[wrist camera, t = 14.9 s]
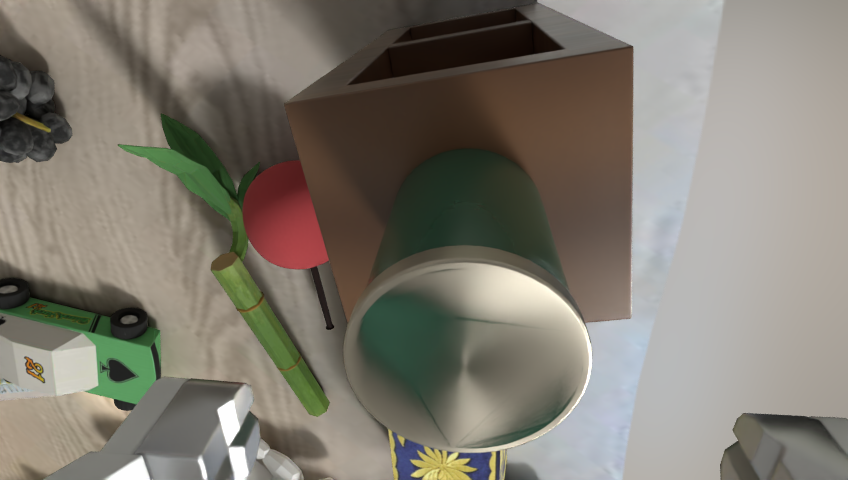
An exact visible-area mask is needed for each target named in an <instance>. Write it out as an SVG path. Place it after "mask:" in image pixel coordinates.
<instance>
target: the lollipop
mask: <svg viewBox="0 0 848 480" xmlns="http://www.w3.org/2000/svg"><path fill="white" fill-rule="evenodd" d="M243 223H244V227H245V231H246V234H247V236H248V238H249V240H250V242H251V244H252V245H253V247H254V248H255V249H256V251H257V252H258V253H259V254H260V255H261V256H262V257H263V258H265V259H266V260H268V261H269V262H271V263H273V264H275V265H277V266H280V267H284V268H289V269H307V268H310V269H311V273H312V276H313V280H314V283H315V287H316V290H317V294H318V297H319V301H320V304H321V308H322V311H323V314H324V318H325V321H326V325H327V326H326V329H327V330H331V329H333V328H334V325H333V324H332V321H331V317H330V313H329V309H328V306H327V302H326V298H325V294H324V291H323V287H322V283H321V279H320V276H319V272H318V268H317V266H318V265H321V264H323V263H325V262H327V261H329V258H328V255H327V251H326V248H325V245H324V241H323V238H322V234H321V231H320V227H319V224H318V221H317V217H316V214H315V210H314V207H313V203H312V200H311V196H310V193H309V190H308V186H307V183H306V179H305V176H304V172H303V169H302V166H301V162H300V160H295V161H286V162H282V163H279V164H276V165H274V166H271V167H269V168H268V169H266V170H264V171H263V172H262V173H260V174H259V175H258V176H257V177H256V178H255V179H254V180H253V181H252V183H251V184H250V186H249V187H248V189H247V192H246V194H245V197H244V202H243Z"/></svg>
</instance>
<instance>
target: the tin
mask: <svg viewBox="0 0 848 480" xmlns="http://www.w3.org/2000/svg"><path fill="white" fill-rule="evenodd" d="M343 359H344V366H345V370H346V375H347V378H348V380H349V383H350V385H351V388H352V390H353V391H354V393H355V395H356V397H357V398H358V400H359V401H360V402H361V404H362V405H363V406H364V408H365V409H366V410H367V411H368V412H369V413H370V414H371V415H372V416H373V417H374V418H375V419H376V420H377V421H379V422H380V423H381V424H382V425H384V426H385V427H386V428H388V429H390V430H391V431H393V432H394V433H396V434H398V435H400V436H402V437H404V438H406V439H408V440H410V441H412V442H415V443H418V444H420V445H423V446H426V447H430V448H434V449H438V450H443V451H449V452H459V453H485V452H495V451H500V450H505V449H509V448H513V447H516V446H519V445H523V444H525V443H527V442H530V441H532V440H534V439H537V438H538V437H540V436H542V435H544V434H546V433H547V432H549V431H550V430H552V429H553V428H554V427H556V426H557V425H559V424H560V423H561V422H562V421H563V420H564V419H565V418H566V417H567V416H568V415H569V414H570V413H571V412H572V410H573V409H574V408H575V407H576V406H577V404H578V402H579V401H580V399H581V397H582V396H583V394H584V392H585V389H586V387H587V384H588V382H589V378H590V373H591V369H592V348H591V341H590V338H589V334H588V331H587V328H586V325H585V322H584V318H583V315H582V313H581V311H580V309H579V307H578V305H577V303H576V301H575V300H574V298H573V297H572V296H571V294H570V291H569V288H568V284H567V281H566V278H565V275H564V271H563V268H562V265H561V261H560V258H559V255H558V252H557V248H556V245H555V242H554V239H553V235H552V232H551V229H550V226H549V222H548V219H547V216H546V213H545V209H544V206H543V203H542V200H541V196H540V193H539V191H538V189H537V187H536V185H535V184H534V182H533V181H532V179H531V178H530V176H529V175H528V174H527V173H526V172H525V171H524V170H523V169H522V168H521V167H520V166H518V165H517V164H516V163H514V162H513V161H511V160H510V159H508V158H506V157H504V156H502V155H500V154H497V153H494V152H491V151H487V150H482V149H472V148H464V149H455V150H450V151H446V152H443V153H440V154H437V155H435V156H433V157H431V158H429V159H427V160H425V161H424V162H423V163H421V164H420V165H418V166H417V167H416V168H415V169H414V170H413V171H412V172H411V173H410V174H409V175H408V176H407V178H406V179H405V180H404V182H403V183H402V185H401V187H400V189H399V191H398V193H397V195H396V198H395V201H394V204H393V207H392V210H391V213H390V216H389V219H388V222H387V225H386V228H385V231H384V234H383V237H382V240H381V243H380V246H379V249H378V252H377V255H376V258H375V261H374V264H373V267H372V270H371V273H370V276H369V279H368V282H367V285H366V288H365V290H364V291H363V293H362V294H361V296H360V297H359V299H358V301H357V303H356V305H355V307H354V309H353V311H352V314H351V317H350V320H349V323H348V326H347V329H346V333H345V336H344V345H343Z"/></svg>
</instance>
